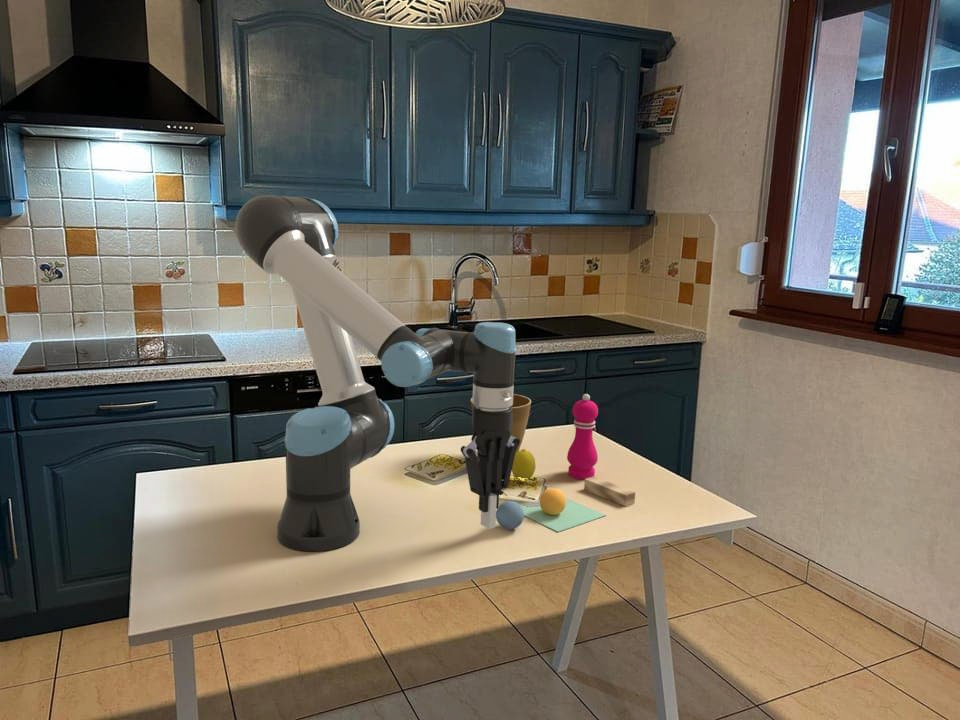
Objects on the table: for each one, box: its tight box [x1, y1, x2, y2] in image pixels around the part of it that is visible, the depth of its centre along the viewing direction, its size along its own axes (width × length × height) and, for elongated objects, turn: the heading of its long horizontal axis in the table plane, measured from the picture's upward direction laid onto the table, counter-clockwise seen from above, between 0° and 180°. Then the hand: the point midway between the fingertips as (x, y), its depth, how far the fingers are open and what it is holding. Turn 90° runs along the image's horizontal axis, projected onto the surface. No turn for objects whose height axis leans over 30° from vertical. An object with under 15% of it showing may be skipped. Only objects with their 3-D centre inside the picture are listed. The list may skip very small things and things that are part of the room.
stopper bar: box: [583, 475, 636, 507], centre depth 161 cm, size 12×3×2 cm, turn 39°
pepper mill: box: [566, 393, 599, 480], centre depth 172 cm, size 7×7×20 cm
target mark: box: [519, 497, 607, 533], centre depth 151 cm, size 14×14×1 cm
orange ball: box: [538, 487, 567, 515], centre depth 150 cm, size 6×6×6 cm
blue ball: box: [496, 500, 525, 530], centre depth 142 cm, size 6×6×6 cm
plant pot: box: [470, 393, 532, 453], centre depth 180 cm, size 15×15×16 cm
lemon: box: [511, 448, 536, 479], centre depth 167 cm, size 6×6×8 cm
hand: (488, 525), depth 139 cm, fingers closed
